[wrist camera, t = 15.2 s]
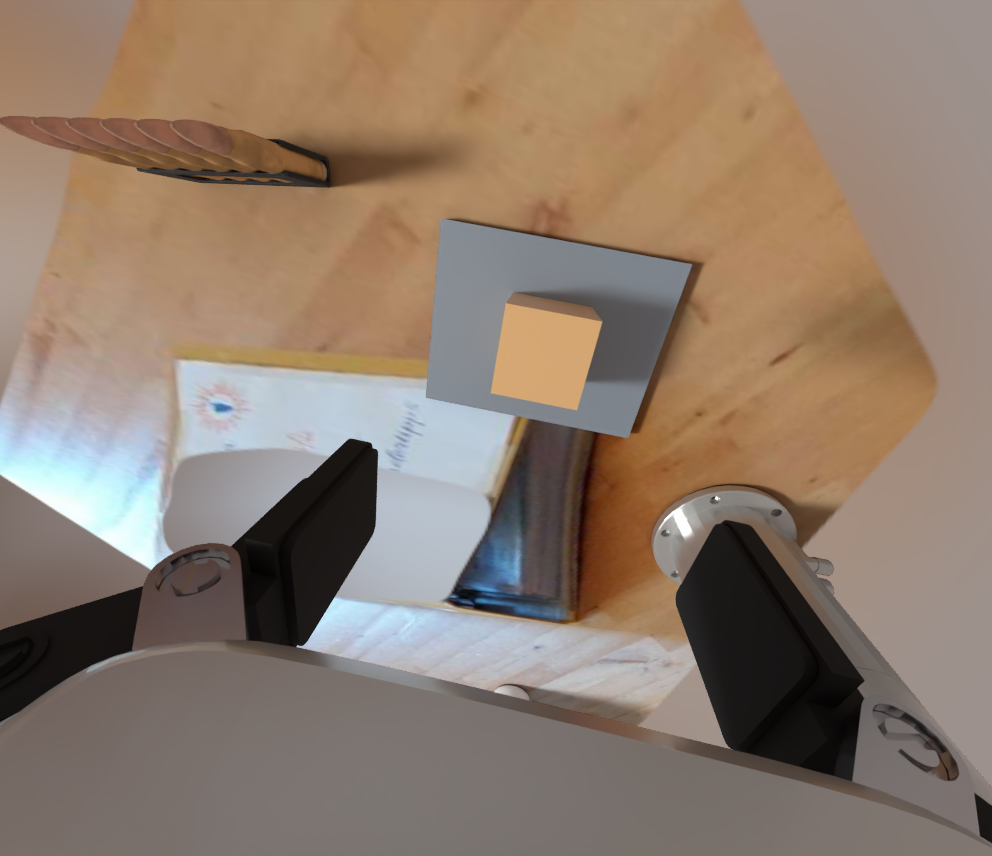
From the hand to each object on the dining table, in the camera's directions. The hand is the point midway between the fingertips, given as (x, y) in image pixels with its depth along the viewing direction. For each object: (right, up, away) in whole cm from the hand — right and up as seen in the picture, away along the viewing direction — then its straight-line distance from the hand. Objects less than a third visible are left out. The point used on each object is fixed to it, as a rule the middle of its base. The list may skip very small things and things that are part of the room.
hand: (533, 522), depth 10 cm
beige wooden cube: (+3, +10, +19) cm, 22 cm away
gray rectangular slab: (+3, +10, +20) cm, 23 cm away
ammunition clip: (-18, +22, +18) cm, 33 cm away
